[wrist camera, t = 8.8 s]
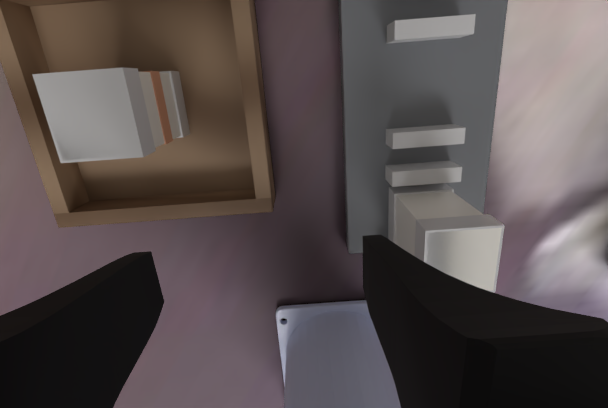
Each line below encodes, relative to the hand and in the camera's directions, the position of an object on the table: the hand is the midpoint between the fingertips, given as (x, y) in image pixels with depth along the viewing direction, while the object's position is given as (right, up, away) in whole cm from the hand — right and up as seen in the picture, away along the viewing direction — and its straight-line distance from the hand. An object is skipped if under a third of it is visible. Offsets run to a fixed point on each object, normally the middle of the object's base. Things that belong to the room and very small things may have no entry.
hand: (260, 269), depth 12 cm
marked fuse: (-6, +7, +7) cm, 12 cm away
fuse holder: (+8, +9, +7) cm, 13 cm away
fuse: (+8, +2, +8) cm, 12 cm away
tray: (-6, +8, +7) cm, 12 cm away
